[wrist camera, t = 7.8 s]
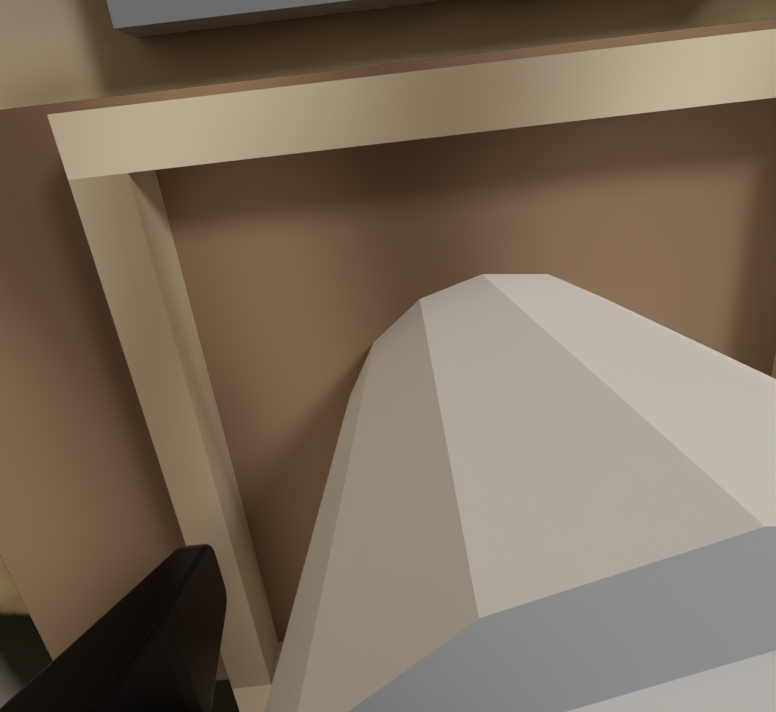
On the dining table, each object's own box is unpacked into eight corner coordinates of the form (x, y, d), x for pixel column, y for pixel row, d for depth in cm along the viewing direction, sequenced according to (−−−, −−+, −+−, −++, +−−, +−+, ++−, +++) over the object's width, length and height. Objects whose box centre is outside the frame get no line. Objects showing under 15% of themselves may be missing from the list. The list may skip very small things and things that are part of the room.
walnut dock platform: (886, 27, 12) (1313, -53, 7) (789, 473, 17) (993, 642, 11) (4, 131, 12) (-287, 135, 7) (150, 542, 17) (46, 741, 12)
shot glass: (438, 613, 12) (522, 1191, 5) (234, 376, 10) (-46, 899, 3) (739, 461, 11) (1319, 981, 4) (590, 144, 8) (1384, 208, 2)
